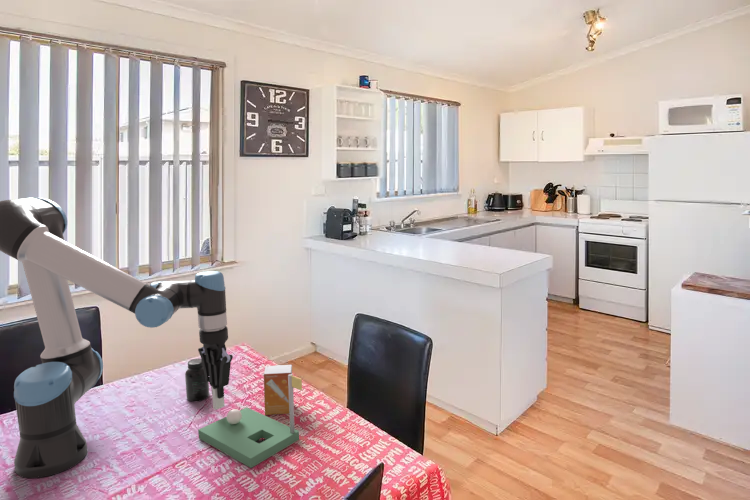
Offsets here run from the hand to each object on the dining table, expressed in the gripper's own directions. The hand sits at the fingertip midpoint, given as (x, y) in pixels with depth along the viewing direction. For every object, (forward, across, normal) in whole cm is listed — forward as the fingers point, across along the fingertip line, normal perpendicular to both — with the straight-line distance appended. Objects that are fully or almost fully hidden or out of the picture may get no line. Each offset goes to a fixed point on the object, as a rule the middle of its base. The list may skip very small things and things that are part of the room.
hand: (218, 407), depth 139 cm
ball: (+1, -7, 0) cm, 7 cm away
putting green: (+5, -15, 0) cm, 16 cm away
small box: (+5, -7, -16) cm, 18 cm away
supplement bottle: (+5, +20, -6) cm, 21 cm away
